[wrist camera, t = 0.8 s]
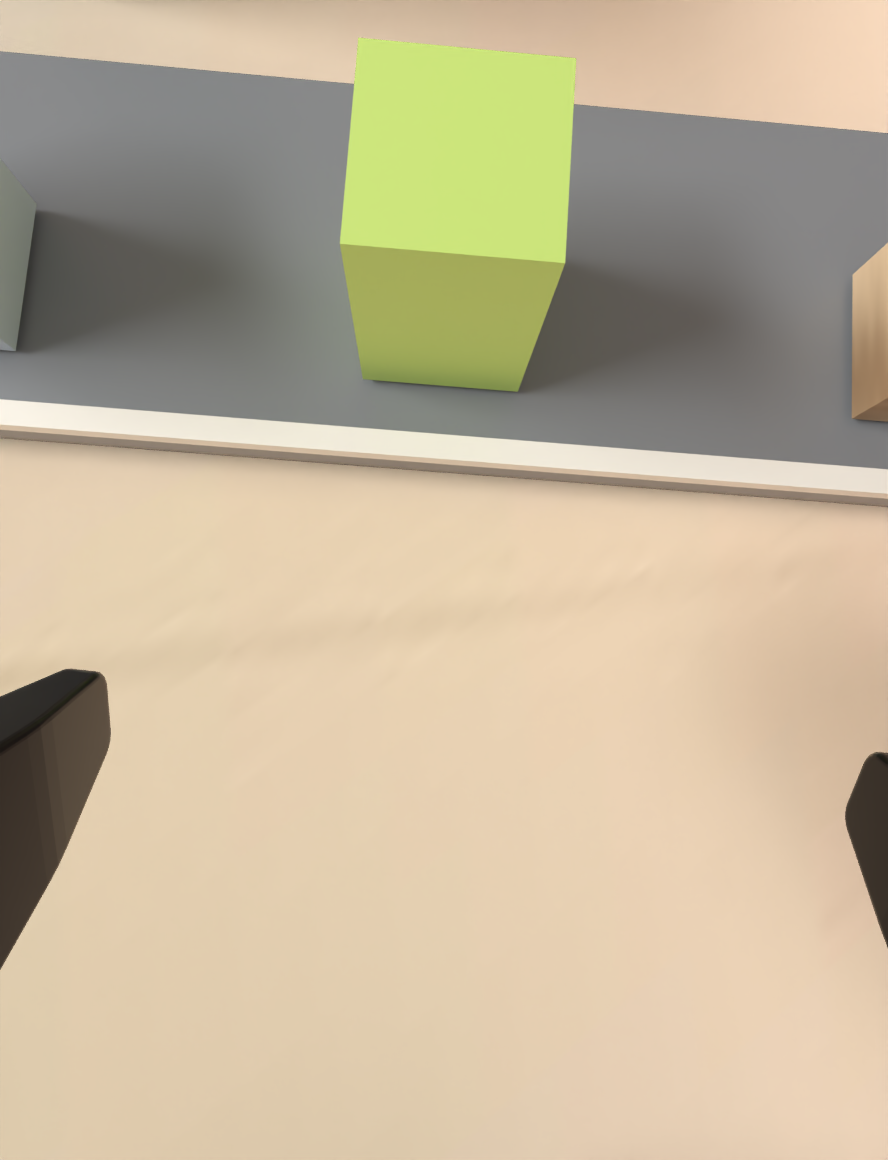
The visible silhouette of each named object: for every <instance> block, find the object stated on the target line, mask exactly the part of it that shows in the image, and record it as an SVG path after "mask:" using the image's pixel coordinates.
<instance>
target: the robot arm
mask: <svg viewBox="0 0 888 1160" xmlns="http://www.w3.org/2000/svg"><path fill="white" fill-rule="evenodd" d="M110 736H111V728H110V716H109V704H108V692H107V683H106V680H105V677H104V676H103V675H102V674H101V673H100V672H96V671H86V670H77V669H65V670H62V671H59V672H57V673H55V674H52V675H50V676H48V677H45V678H43V679H41V680H38V681H36V682H34V683H31V684H29V685H26V686H24V687H22V688H19V689H17V690H15V691H12V692H10V693H8V694H5V695H3V696H1V697H0V969H1V968H2V966H3V964H4V962H5V961H6V959H7V957H8V955H9V953H10V952H11V950H12V948H13V946H14V945H15V943H16V941H17V939H18V938H19V936H20V934H21V932H22V930H23V929H24V927H25V925H26V923H27V922H28V920H29V918H30V916H31V915H32V913H33V911H34V909H35V908H36V906H37V904H38V902H39V900H40V899H41V897H42V895H43V893H44V892H45V890H46V888H47V886H48V884H49V883H50V881H51V879H52V877H53V875H54V873H55V871H56V869H57V868H58V866H59V863H60V861H61V859H62V857H63V855H64V853H65V850H66V848H67V846H68V844H69V841H70V839H71V836H72V834H73V832H74V829H75V827H76V825H77V822H78V820H79V818H80V815H81V813H82V810H83V808H84V806H85V803H86V801H87V799H88V796H89V794H90V792H91V789H92V787H93V785H94V782H95V780H96V777H97V775H98V773H99V770H100V768H101V766H102V763H103V761H104V759H105V756H106V754H107V751H108V748H109V744H110ZM845 820H846V826H847V830H848V833H849V836H850V839H851V842H852V845H853V848H854V851H855V854H856V857H857V860H858V863H859V866H860V869H861V872H862V875H863V878H864V881H865V884H866V887H867V890H868V893H869V896H870V899H871V902H872V905H873V908H874V911H875V914H876V916H877V919H878V922H879V925H880V928H881V931H882V934H883V936H884V939H885V942H886V944H887V947H888V753H883V752H876V753H873V754H871V755H869V756H868V758H867V759H866V760H865V762H864V764H863V766H862V769H861V771H860V774H859V776H858V779H857V781H856V784H855V786H854V789H853V791H852V793H851V796H850V798H849V801H848V803H847V807H846V812H845Z"/></svg>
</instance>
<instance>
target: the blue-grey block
mask: <svg viewBox="0 0 888 1160" xmlns="http://www.w3.org/2000/svg"><path fill="white" fill-rule="evenodd" d="M36 205H37V204H36V203H35V201H34V200H33V199H32V198H31V196H30V195H29V194H28V193H27V191H26V190H25V189H24V188H23V186H22V185H21V184H20V183H19V181H18V180H17V179H16V178H15V176H14V175H13V174H12V173H11V171H10V170H9V169H8V168H7V166H6V165H5V164H4V163H3V161H2V160H1V159H0V350H8V351H16V346H17V339H18V332H19V325H20V318H21V310H22V303H23V296H24V289H25V282H26V275H27V268H28V261H29V254H30V247H31V240H32V233H33V226H34V219H35V212H36Z"/></svg>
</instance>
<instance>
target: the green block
mask: <svg viewBox="0 0 888 1160" xmlns="http://www.w3.org/2000/svg"><path fill="white" fill-rule="evenodd" d="M575 71H576V58H568V57H558V56H547V55H536V54H526V53H515V52H504V51H494V50H483V49H473V48H462V47H451V46H441V45H430V44H419V43H409V42H398V41H387V40H377V39H366V38H358V48H357V59H356V70H355V81H354V92H353V103H352V114H351V125H350V136H349V147H348V158H347V169H346V180H345V191H344V202H343V213H342V224H341V235H340V248H341V254H342V260H343V266H344V272H345V277H346V283H347V289H348V295H349V301H350V307H351V313H352V319H353V324H354V330H355V336H356V342H357V348H358V354H359V360H360V365H361V371H362V377H363V379H366V380H379V381H391V382H403V383H416V384H428V385H440V386H453V387H465V388H478V389H490V390H502V391H515V392H518V390H519V387H520V384H521V381H522V379H523V376H524V373H525V371H526V368H527V365H528V362H529V360H530V357H531V354H532V352H533V349H534V346H535V344H536V341H537V338H538V335H539V333H540V330H541V327H542V325H543V322H544V319H545V317H546V314H547V311H548V308H549V306H550V303H551V300H552V298H553V295H554V292H555V289H556V287H557V284H558V281H559V279H560V276H561V273H562V271H563V268H564V265H565V258H566V239H567V221H568V202H569V183H570V164H571V146H572V127H573V108H574V89H575Z"/></svg>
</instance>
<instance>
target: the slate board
mask: <svg viewBox="0 0 888 1160" xmlns="http://www.w3.org/2000/svg"><path fill="white" fill-rule="evenodd" d="M353 92H354V84H348V83H337V82H326V81H316V80H305V79H294V78H283V77H272V76H261V75H251V74H240V73H229V72H218V71H207V70H196V69H186V68H175V67H164V66H153V65H142V64H131V63H120V62H110V61H99V60H88V59H77V58H66V57H55V56H45V55H34V54H23V53H12V52H1V51H0V159H1V160H2V161H3V163H4V164H5V165H6V166H7V168H8V169H9V170H10V171H11V173H12V174H13V175H14V176H15V178H16V179H17V180H18V181H19V183H20V184H21V185H22V186H23V188H24V189H25V190H26V191H27V193H28V194H29V195H30V196H31V198H32V199H33V200H34V201H35V203H36V204H37V205H36V212H35V219H34V226H33V233H32V240H31V247H30V254H29V261H28V268H27V275H26V282H25V289H24V296H23V303H22V310H21V318H20V325H19V332H18V339H17V346H16V351H8V350H0V438H9V439H22V440H35V441H48V442H61V443H74V444H87V445H99V446H112V447H125V448H138V449H151V450H164V451H177V452H190V453H203V454H216V455H228V456H241V457H254V458H267V459H280V460H293V461H306V462H319V463H332V464H344V465H357V466H370V467H383V468H396V469H409V470H422V471H435V472H448V473H461V474H473V475H486V476H499V477H512V478H525V479H538V480H551V481H564V482H577V483H589V484H602V485H615V486H628V487H641V488H654V489H667V490H680V491H693V492H706V493H718V494H731V495H744V496H757V497H770V498H783V499H796V500H809V501H822V502H834V503H847V504H860V505H873V506H886V507H888V422H885V421H873V420H861V419H852V295H853V274H854V273H855V272H856V271H857V270H858V269H859V268H861V267H862V266H863V265H864V264H865V263H866V262H867V261H868V260H869V259H870V258H871V257H873V256H874V255H875V254H876V253H877V252H878V251H879V250H880V249H881V248H882V247H884V246H885V245H886V244H887V243H888V133H879V132H869V131H858V130H847V129H836V128H825V127H814V126H804V125H793V124H782V123H771V122H760V121H749V120H738V119H728V118H717V117H706V116H695V115H684V114H673V113H663V112H652V111H641V110H630V109H619V108H608V107H598V106H587V105H576V104H574V108H573V127H572V146H571V164H570V183H569V202H568V221H567V239H566V258H565V265H564V268H563V271H562V273H561V276H560V279H559V281H558V284H557V287H556V289H555V292H554V295H553V298H552V300H551V303H550V306H549V308H548V311H547V314H546V317H545V319H544V322H543V325H542V327H541V330H540V333H539V335H538V338H537V341H536V344H535V346H534V349H533V352H532V354H531V357H530V360H529V362H528V365H527V368H526V371H525V373H524V376H523V379H522V381H521V384H520V387H519V390H518V392H515V391H502V390H490V389H478V388H465V387H453V386H440V385H428V384H416V383H403V382H391V381H379V380H366V379H363V377H362V371H361V365H360V360H359V354H358V348H357V342H356V336H355V330H354V324H353V319H352V313H351V307H350V301H349V295H348V289H347V283H346V277H345V272H344V266H343V260H342V254H341V248H340V235H341V224H342V213H343V202H344V191H345V180H346V169H347V158H348V147H349V136H350V125H351V114H352V103H353Z"/></svg>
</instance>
